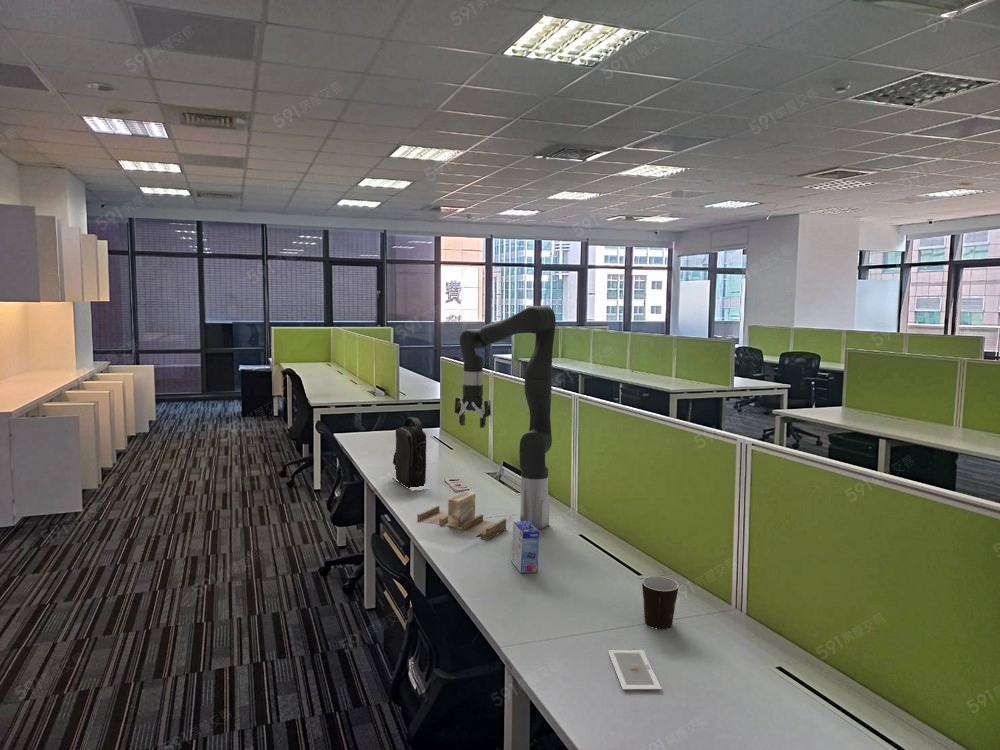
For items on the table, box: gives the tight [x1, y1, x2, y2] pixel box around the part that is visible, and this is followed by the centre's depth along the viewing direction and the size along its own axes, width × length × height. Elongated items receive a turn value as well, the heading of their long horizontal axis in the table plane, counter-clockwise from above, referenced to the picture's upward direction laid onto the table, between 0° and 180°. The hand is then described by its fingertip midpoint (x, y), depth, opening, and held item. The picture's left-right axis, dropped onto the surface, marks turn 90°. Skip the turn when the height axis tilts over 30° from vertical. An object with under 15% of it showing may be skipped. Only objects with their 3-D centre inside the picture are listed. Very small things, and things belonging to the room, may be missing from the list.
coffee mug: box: [641, 575, 679, 630], centre depth 162 cm, size 12×9×10 cm
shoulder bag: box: [392, 416, 427, 488], centre depth 282 cm, size 23×9×28 cm, turn 30°
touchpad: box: [607, 649, 663, 690], centre depth 142 cm, size 8×15×2 cm, turn 2°
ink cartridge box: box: [510, 516, 540, 574], centre depth 196 cm, size 10×6×14 cm, turn 15°
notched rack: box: [416, 505, 507, 540], centre depth 230 cm, size 28×12×4 cm, turn 62°
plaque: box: [443, 477, 475, 493], centre depth 277 cm, size 34×1×10 cm
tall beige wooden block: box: [447, 491, 476, 528], centre depth 229 cm, size 4×11×9 cm, turn 152°
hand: (472, 426), depth 252 cm, fingers open, 8 cm apart
